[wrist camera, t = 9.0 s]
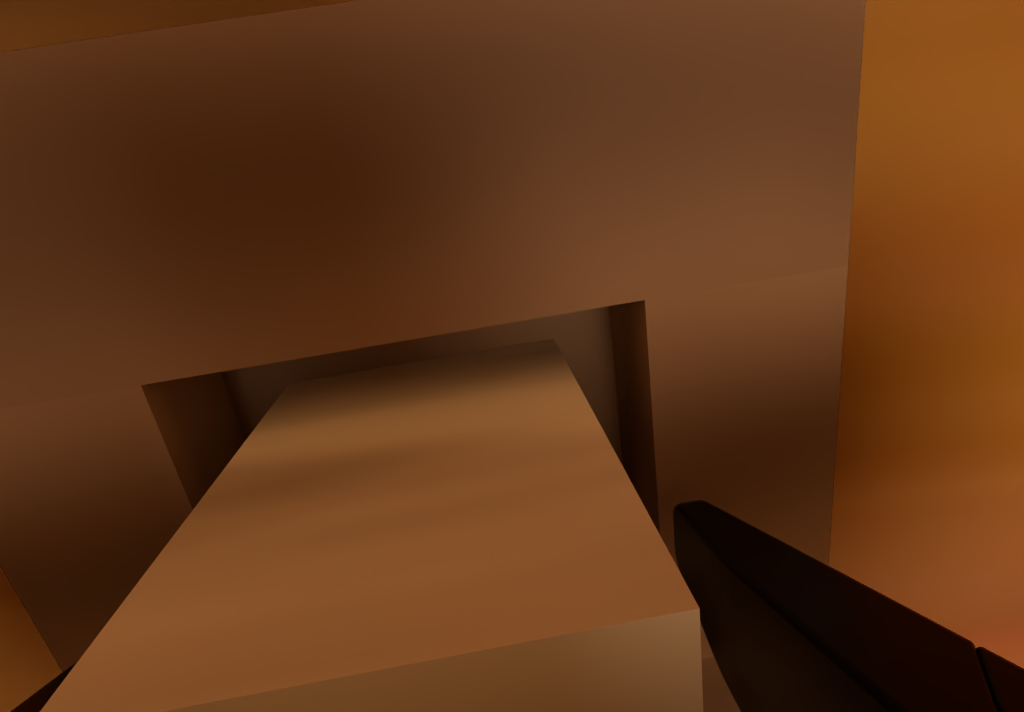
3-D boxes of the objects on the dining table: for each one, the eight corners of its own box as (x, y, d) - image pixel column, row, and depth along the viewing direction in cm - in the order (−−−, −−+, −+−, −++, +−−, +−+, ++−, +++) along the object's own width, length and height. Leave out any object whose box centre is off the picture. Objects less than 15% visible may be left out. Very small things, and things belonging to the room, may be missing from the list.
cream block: (580, 551, 11) (713, 970, 5) (354, 593, 11) (240, 1072, 5) (553, 337, 9) (698, 607, 4) (289, 383, 9) (19, 737, 4)
